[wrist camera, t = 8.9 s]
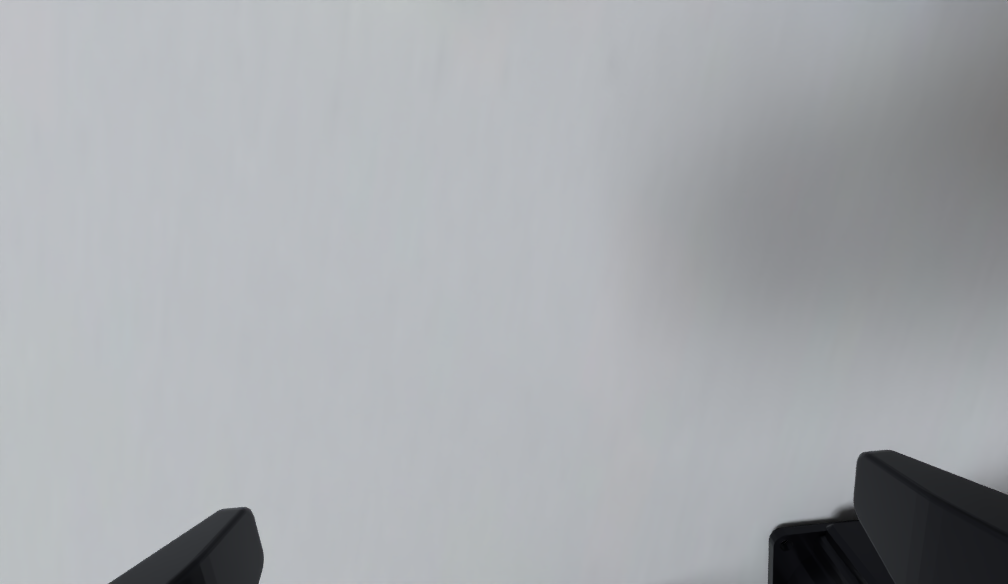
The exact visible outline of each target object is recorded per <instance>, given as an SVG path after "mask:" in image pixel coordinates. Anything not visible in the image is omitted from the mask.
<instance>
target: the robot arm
mask: <svg viewBox="0 0 1008 584" xmlns="http://www.w3.org/2000/svg"><path fill="white" fill-rule="evenodd" d="M854 508H855V512H856V514H857V517H858V519H859V520H852V521H842V522H833V523H823V524H814V525H804V526H795V527H785V528H780V529H777V530H775V531H774V532H772V534H771V535H770V538H769V563H768V584H1008V495H1007V494H1004V493H1001V492H999V491H996V490H994V489H991V488H988V487H986V486H983V485H981V484H978V483H976V482H973V481H970V480H968V479H965V478H963V477H960V476H957V475H955V474H952V473H950V472H947V471H944V470H942V469H939V468H937V467H934V466H931V465H929V464H926V463H924V462H921V461H918V460H916V459H913V458H911V457H908V456H906V455H903V454H900V453H898V452H895V451H892V450H880V451H869V452H863V453H862V454H860V455H859V457H858V460H857V466H856V476H855V487H854ZM786 540H788V541H787V542H786V543H783V544H781V543H782V542H783V541H786ZM263 563H264V555H263V549H262V545H261V541H260V537H259V534H258V530H257V526H256V522H255V518H254V515H253V513H252V511H251V510H250V509H249V508H247V507H239V508H227V509H221V510H219V511H217V512H216V513H214V514H213V515H211V516H210V517H208V518H207V519H205V520H204V521H202V522H201V523H199V524H198V525H196V526H195V527H193V528H192V529H190V530H189V531H187V532H186V533H184V534H182V535H181V536H179V537H178V538H176V539H175V540H173V541H172V542H170V543H169V544H167V545H166V546H164V547H163V548H161V549H160V550H158V551H157V552H155V553H154V554H152V555H151V556H149V557H148V558H146V559H145V560H143V561H142V562H140V563H139V564H137V565H136V566H134V567H133V568H131V569H130V570H128V571H127V572H125V573H124V574H122V575H121V576H119V577H118V578H116V579H115V580H113V581H112V582H110V583H109V584H259V580H260V577H261V573H262V569H263Z"/></svg>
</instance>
